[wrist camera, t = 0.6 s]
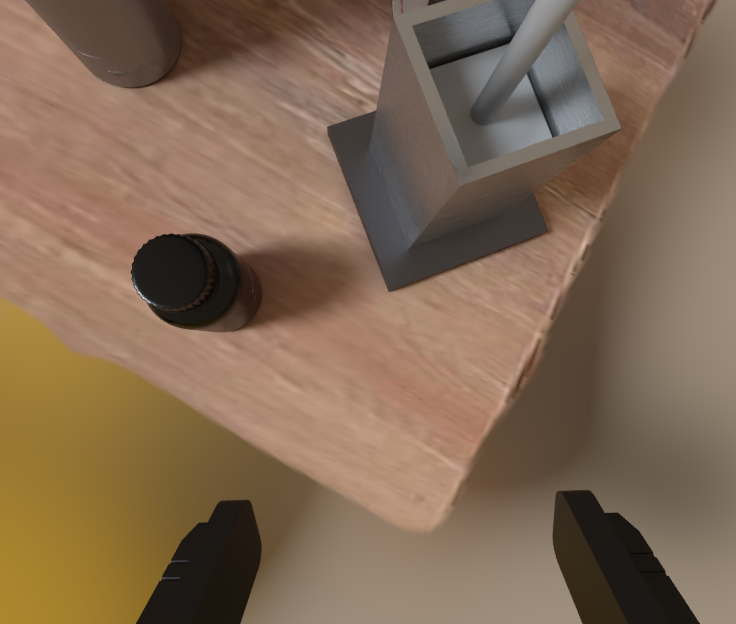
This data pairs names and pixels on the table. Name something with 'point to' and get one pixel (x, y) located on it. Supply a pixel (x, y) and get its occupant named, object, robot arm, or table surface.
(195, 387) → the table surface
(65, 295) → the table surface
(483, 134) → the screwdriver
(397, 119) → the square planter box
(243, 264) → the supplement bottle
